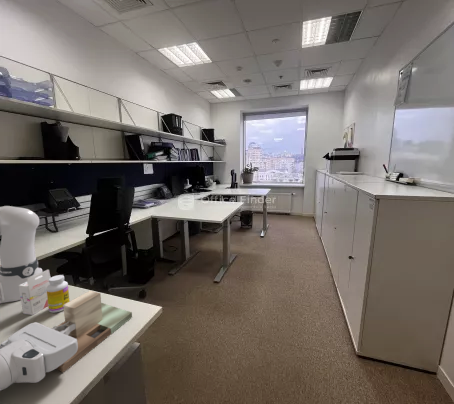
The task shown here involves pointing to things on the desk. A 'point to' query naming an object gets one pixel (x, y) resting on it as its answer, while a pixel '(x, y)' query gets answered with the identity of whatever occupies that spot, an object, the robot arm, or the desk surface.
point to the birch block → (83, 312)
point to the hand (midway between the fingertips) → (72, 324)
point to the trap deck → (97, 332)
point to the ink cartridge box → (34, 293)
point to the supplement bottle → (57, 293)
